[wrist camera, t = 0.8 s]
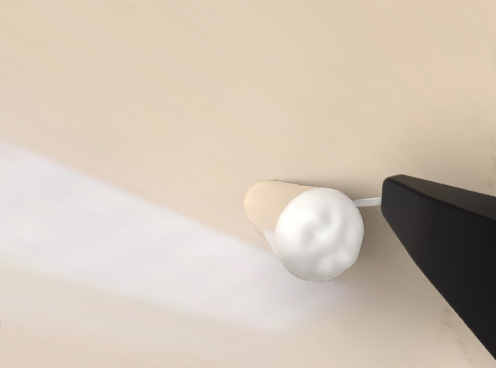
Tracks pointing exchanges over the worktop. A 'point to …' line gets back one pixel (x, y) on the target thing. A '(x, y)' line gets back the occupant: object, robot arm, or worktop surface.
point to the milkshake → (308, 226)
